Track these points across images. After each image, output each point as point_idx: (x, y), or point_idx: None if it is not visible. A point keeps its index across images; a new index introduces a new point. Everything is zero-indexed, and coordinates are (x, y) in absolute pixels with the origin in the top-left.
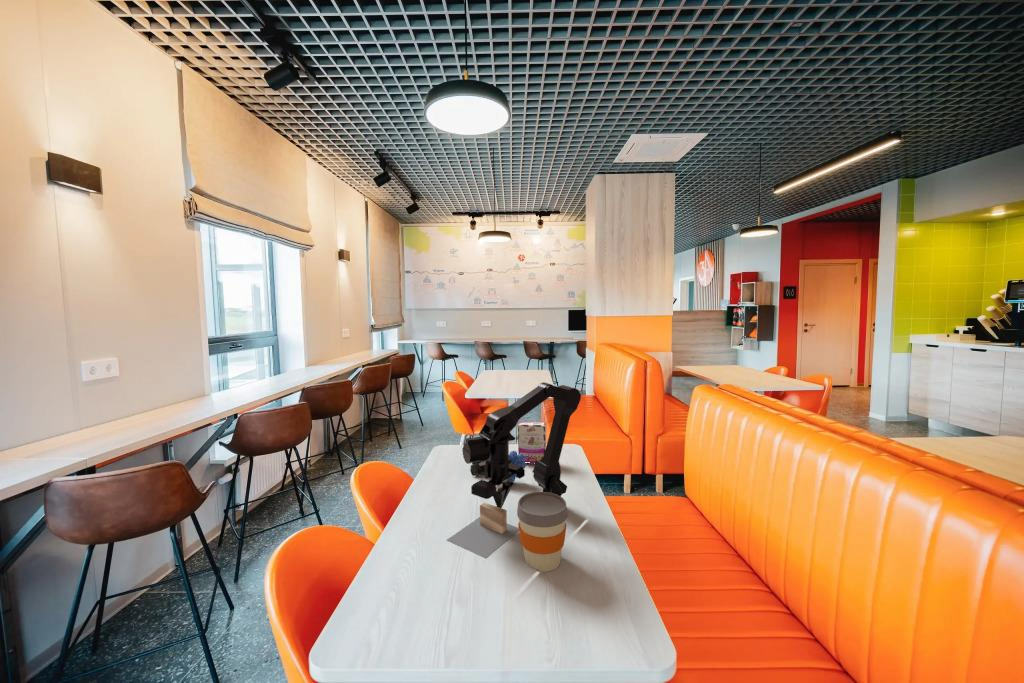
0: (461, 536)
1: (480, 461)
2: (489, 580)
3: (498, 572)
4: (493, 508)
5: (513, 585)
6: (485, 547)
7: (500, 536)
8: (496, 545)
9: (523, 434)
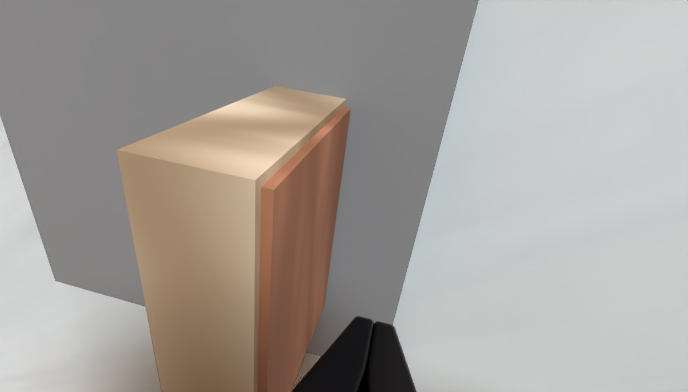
0: (57, 26)
1: None
2: (13, 319)
3: (63, 336)
4: (189, 361)
5: (63, 388)
6: (106, 247)
7: None
8: None
9: None
